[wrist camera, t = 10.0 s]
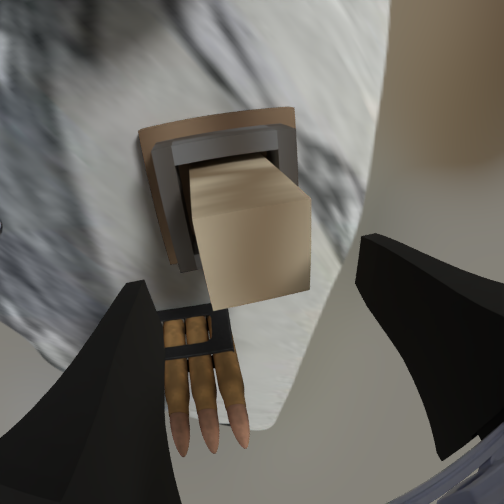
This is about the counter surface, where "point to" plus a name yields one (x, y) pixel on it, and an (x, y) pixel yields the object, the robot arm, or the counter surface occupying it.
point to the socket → (203, 148)
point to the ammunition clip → (202, 374)
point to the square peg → (250, 229)
